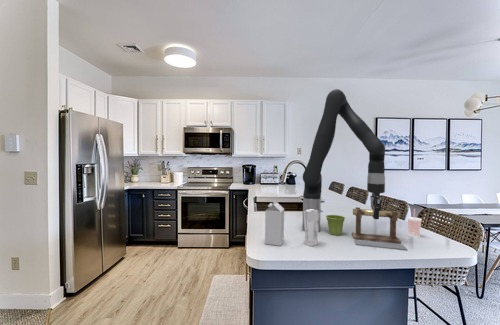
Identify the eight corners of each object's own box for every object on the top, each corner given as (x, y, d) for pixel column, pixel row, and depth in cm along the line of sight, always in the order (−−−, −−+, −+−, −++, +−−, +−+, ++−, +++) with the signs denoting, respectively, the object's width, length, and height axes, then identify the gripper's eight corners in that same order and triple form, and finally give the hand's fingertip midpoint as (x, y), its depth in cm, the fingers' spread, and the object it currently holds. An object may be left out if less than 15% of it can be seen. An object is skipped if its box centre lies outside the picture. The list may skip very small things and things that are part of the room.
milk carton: (283, 241, 110) (284, 200, 110) (280, 246, 103) (281, 202, 103) (268, 239, 112) (269, 199, 112) (264, 244, 105) (265, 201, 105)
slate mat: (355, 245, 106) (355, 243, 106) (354, 240, 111) (354, 239, 111) (407, 250, 100) (407, 249, 100) (402, 245, 106) (402, 244, 106)
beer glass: (310, 247, 102) (311, 212, 102) (300, 242, 108) (300, 209, 108) (322, 245, 105) (323, 211, 105) (311, 240, 111) (312, 208, 111)
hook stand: (353, 239, 114) (353, 209, 114) (351, 234, 121) (352, 206, 120) (401, 243, 108) (401, 212, 108) (396, 239, 115) (397, 209, 115)
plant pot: (321, 231, 125) (322, 215, 125) (336, 230, 128) (336, 214, 128) (333, 237, 116) (334, 219, 116) (349, 235, 120) (349, 218, 120)
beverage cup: (415, 238, 116) (415, 209, 116) (403, 234, 122) (404, 207, 122) (424, 237, 118) (425, 209, 118) (413, 233, 124) (413, 207, 124)
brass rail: (353, 215, 116) (353, 209, 116) (352, 214, 119) (352, 208, 119) (400, 218, 110) (400, 212, 110) (398, 217, 113) (398, 211, 113)
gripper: (364, 181, 122) (364, 214, 122) (370, 183, 109) (369, 221, 109) (381, 181, 120) (380, 215, 120) (388, 184, 106) (388, 222, 106)
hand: (375, 218), depth 114 cm, fingers closed on brass rail, 3 cm apart
